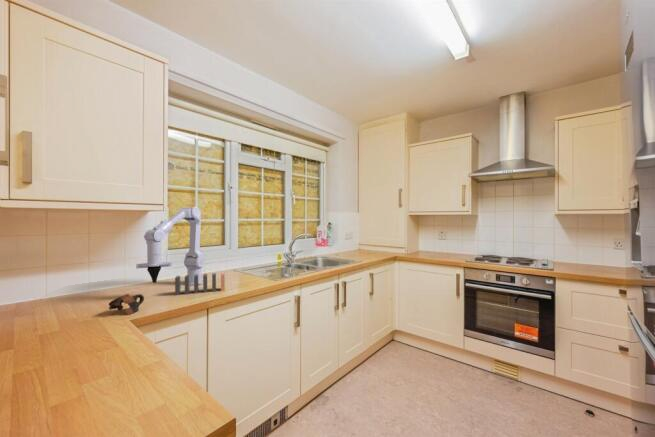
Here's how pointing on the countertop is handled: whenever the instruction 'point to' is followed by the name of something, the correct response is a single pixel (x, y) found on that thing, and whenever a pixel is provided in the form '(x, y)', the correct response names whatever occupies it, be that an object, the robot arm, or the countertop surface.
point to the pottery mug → (127, 300)
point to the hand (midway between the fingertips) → (154, 282)
